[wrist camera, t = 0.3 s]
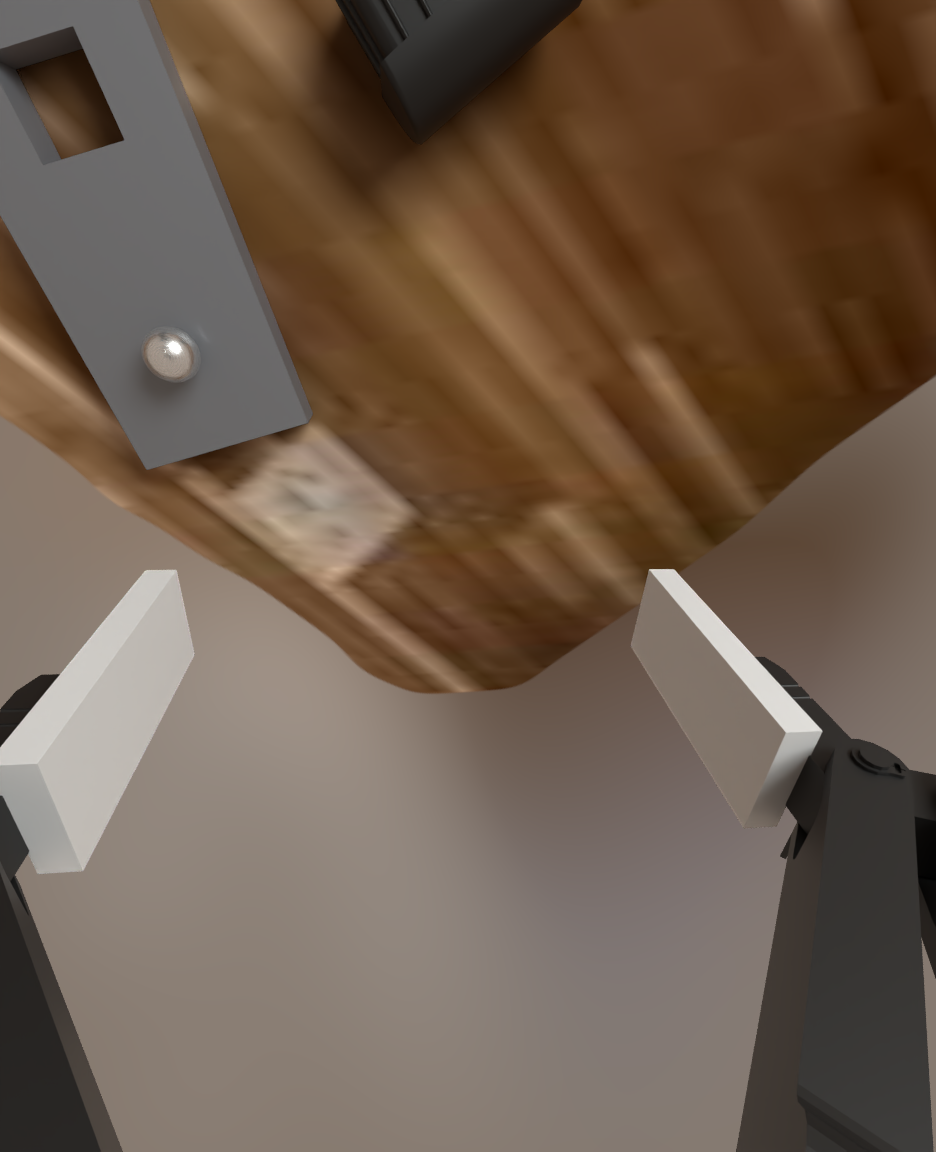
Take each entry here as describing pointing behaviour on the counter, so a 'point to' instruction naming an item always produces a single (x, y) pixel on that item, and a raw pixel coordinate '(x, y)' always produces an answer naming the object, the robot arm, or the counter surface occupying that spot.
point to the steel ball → (171, 354)
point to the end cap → (445, 50)
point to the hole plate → (140, 237)
